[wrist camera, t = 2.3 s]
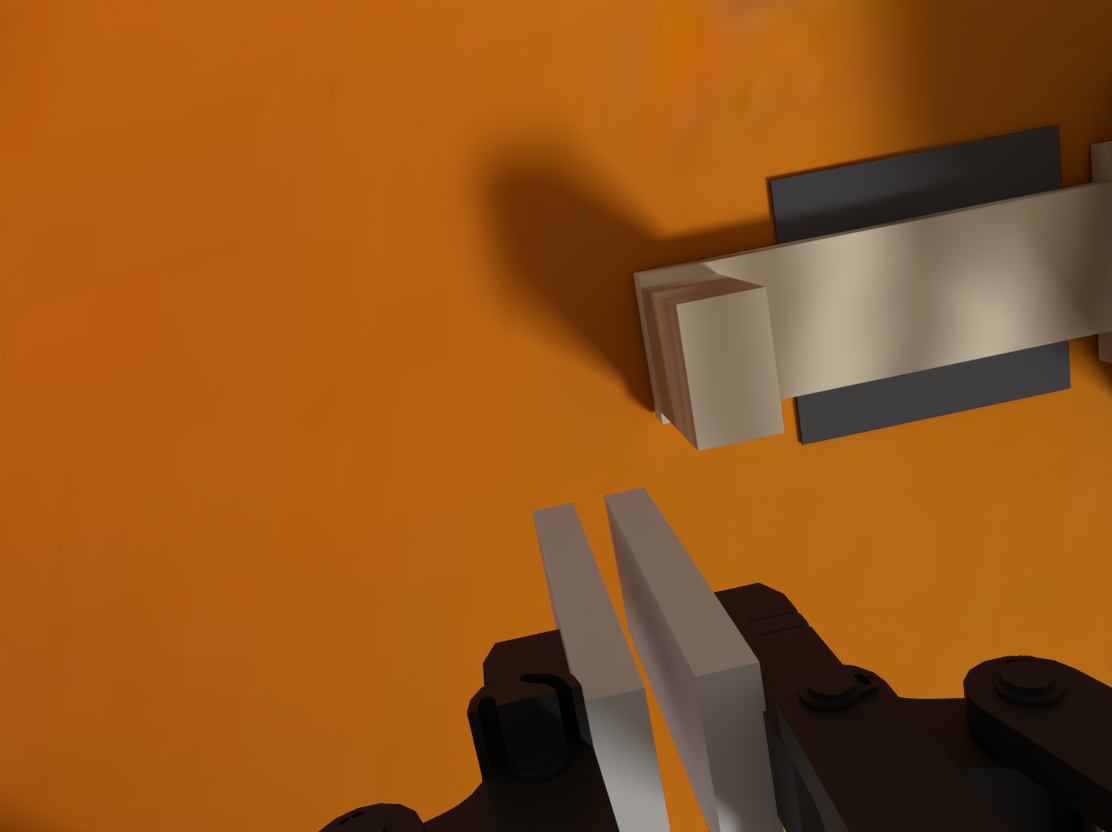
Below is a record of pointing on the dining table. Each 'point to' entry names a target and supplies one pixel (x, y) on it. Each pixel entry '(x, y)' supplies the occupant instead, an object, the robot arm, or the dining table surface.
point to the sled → (874, 305)
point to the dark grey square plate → (908, 194)
